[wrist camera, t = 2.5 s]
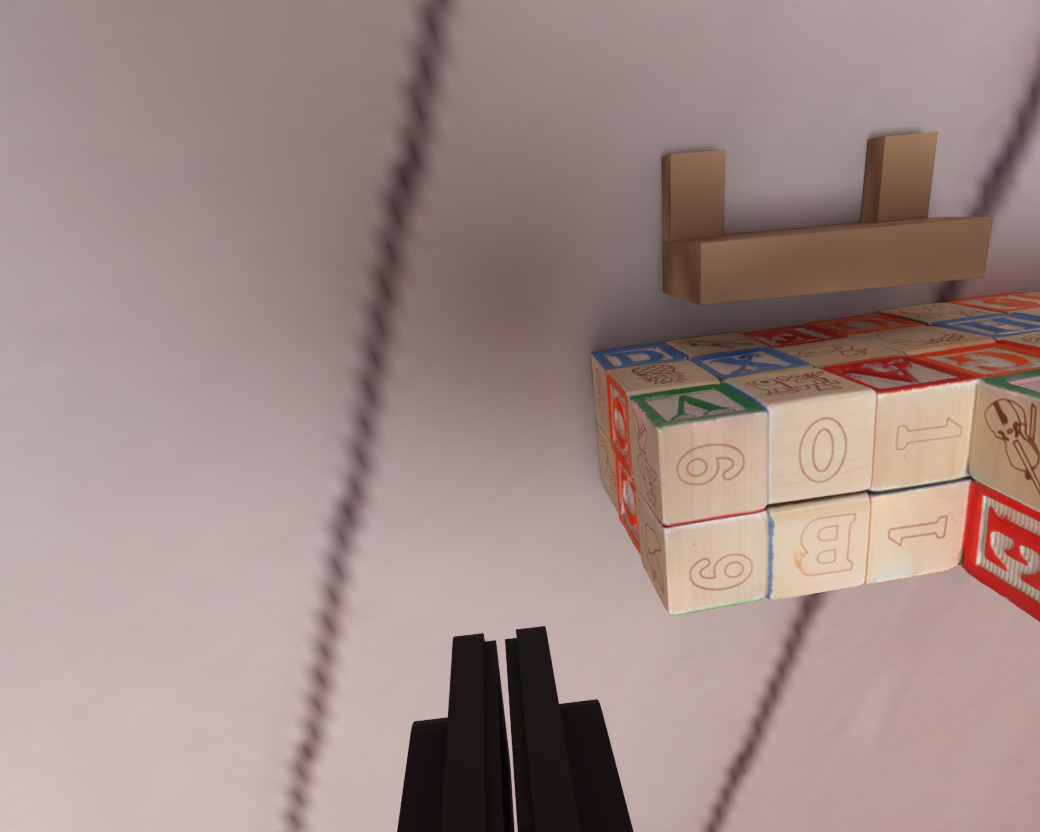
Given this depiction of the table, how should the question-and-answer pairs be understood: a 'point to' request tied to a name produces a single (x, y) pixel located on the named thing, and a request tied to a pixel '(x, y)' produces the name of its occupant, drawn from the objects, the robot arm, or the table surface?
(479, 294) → the table surface
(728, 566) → the stack of blocks
